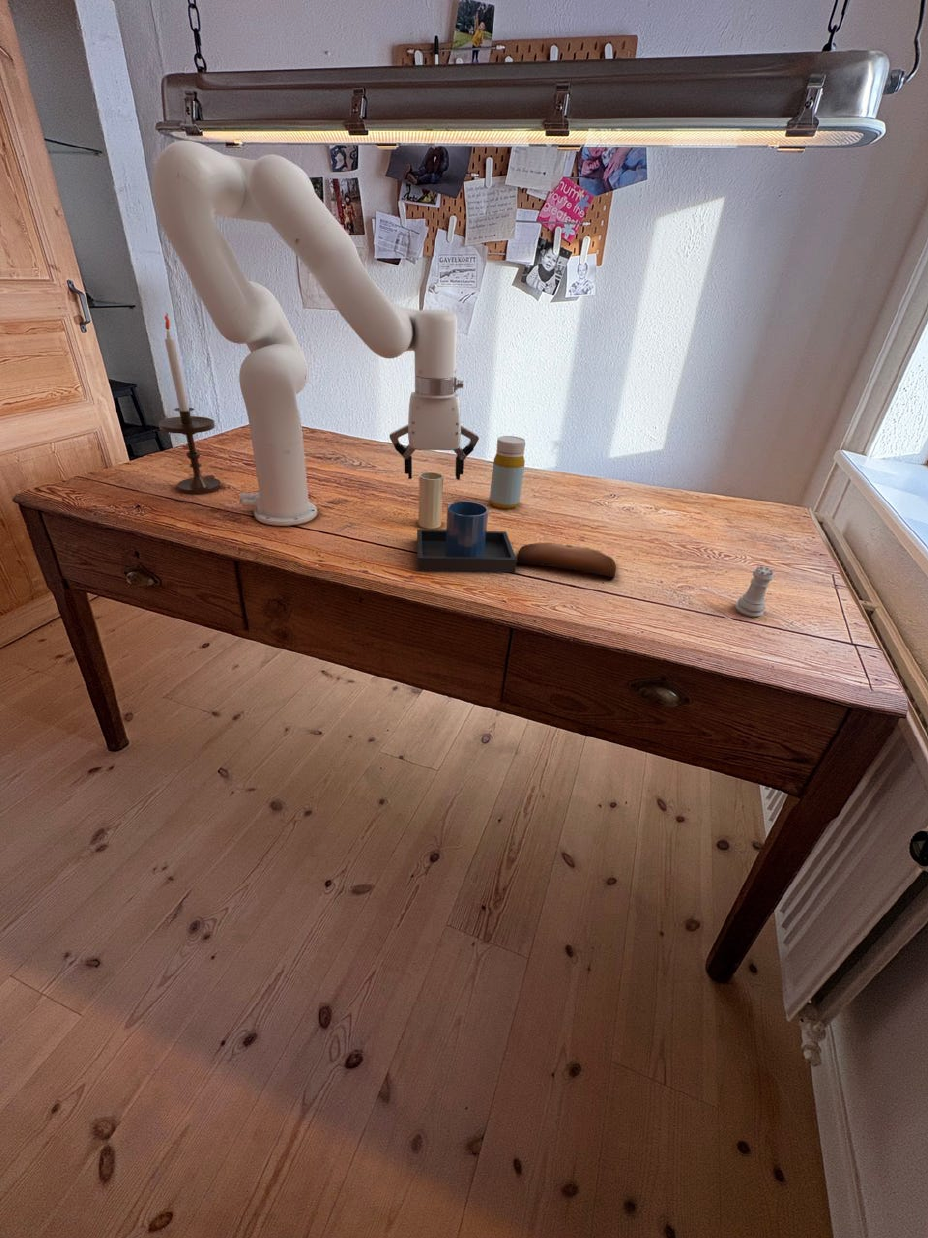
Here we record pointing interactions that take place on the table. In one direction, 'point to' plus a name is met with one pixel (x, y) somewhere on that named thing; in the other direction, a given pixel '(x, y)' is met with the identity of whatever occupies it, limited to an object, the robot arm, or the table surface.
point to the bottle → (507, 472)
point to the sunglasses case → (567, 558)
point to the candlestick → (187, 425)
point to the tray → (435, 559)
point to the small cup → (430, 499)
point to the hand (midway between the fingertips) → (433, 477)
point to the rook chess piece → (755, 593)
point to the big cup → (466, 529)
